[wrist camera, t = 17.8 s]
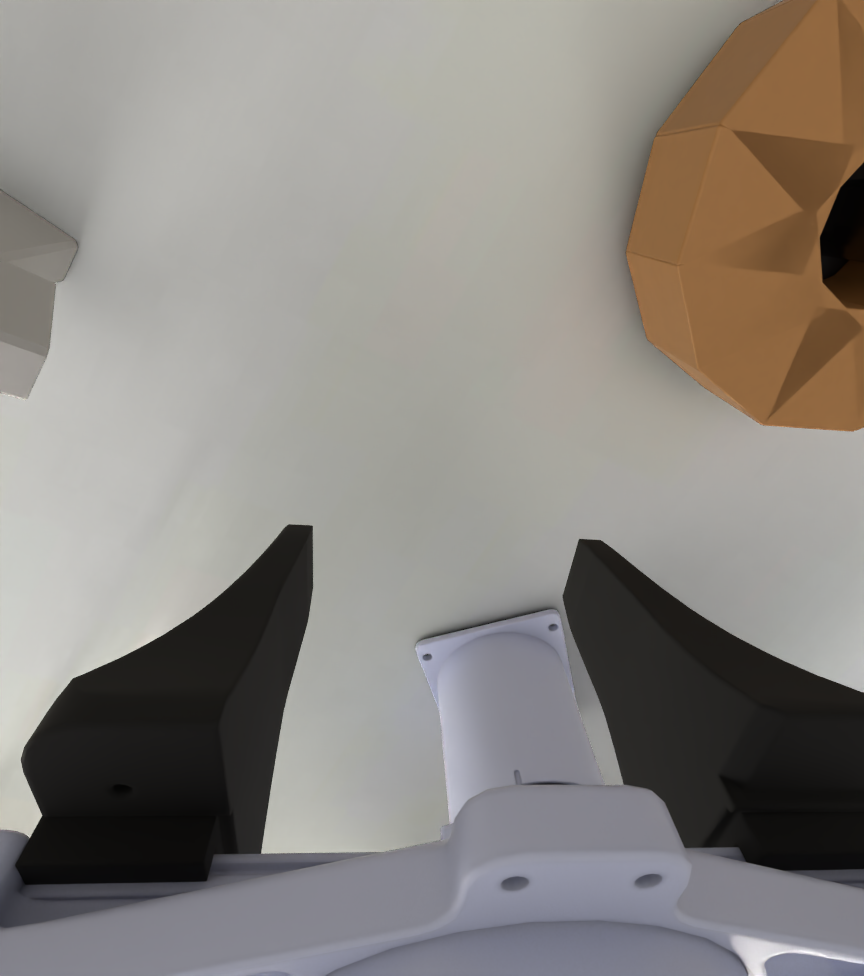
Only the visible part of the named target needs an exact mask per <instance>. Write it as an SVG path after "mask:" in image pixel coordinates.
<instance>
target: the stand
mask: <svg viewBox="0 0 864 976" xmlns="http://www.w3.org/2000/svg"><path fill="white" fill-rule="evenodd" d="M820 251H821V266H822V280H824V279H827V278H829V277H831V276H833V275H835V274H836V273H837V272H838V271H839V270H840V269H841V268H842V267H843V266H844V265H845V264H846V263H847V262H848V261H849V260H852V261H858V262H864V162H863V163H862V165H861V166H860V167H859V168H858V169H857V170H856V171H855V172H854V173H853V174H852V175H851V176H850V178H849V179H848V180H847V181H846V182H845V183H844V184H843V185H842V186H841V187H840V189H839V192H838V194H837V197H836V199H835V201H834V204H833V206H832V209H831V211H830V214H829V216H828V218H827V221H826V223H825V226H824V228H823V231H822V233H821V236H820Z"/></svg>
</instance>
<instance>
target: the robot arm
mask: <svg viewBox="0 0 864 976" xmlns="http://www.w3.org/2000/svg"><path fill="white" fill-rule="evenodd" d="M312 590H313V526H310V525H290V524H289V525H287V526H286V527H285V528H284V529H283V530H282V532H281V533H280V534H279V535H278V537H277V538H276V539H275V540H274V541H273V543H272V544H271V545H270V546H269V547H268V548H267V549H266V551H265V552H264V553H263V554H262V555H261V556H260V557H259V558H258V559H257V560H256V561H255V562H254V563H253V564H252V565H251V567H250V568H249V569H248V570H247V571H246V572H245V573H244V574H243V575H241V576H240V577H239V578H238V579H237V580H236V581H235V582H234V583H233V584H232V585H231V586H230V587H229V588H227V589H226V590H225V591H224V592H223V593H222V594H221V595H219V596H218V597H217V598H216V599H215V600H213V601H212V602H211V603H210V604H208V605H207V606H206V607H204V608H203V609H202V610H200V611H199V612H198V613H196V614H195V615H194V616H192V617H191V618H189V619H187V620H186V621H184V622H183V623H181V624H180V625H178V626H177V627H175V628H173V629H172V630H170V631H169V632H167V633H166V634H164V635H162V636H161V637H159V638H157V639H155V640H153V641H152V642H150V643H148V644H146V645H144V646H143V647H141V648H139V649H137V650H135V651H133V652H131V653H129V654H127V655H125V656H123V657H121V658H119V659H117V660H115V661H112V662H110V663H108V664H106V665H103V666H101V667H99V668H97V669H94V670H92V671H90V672H88V673H85V674H83V675H81V676H78V677H76V678H73V679H72V680H71V682H70V683H69V684H68V686H67V687H66V688H65V689H64V690H63V692H62V693H61V694H60V695H59V697H58V698H57V699H56V701H55V702H54V703H53V705H52V706H51V708H50V709H49V710H48V712H47V713H46V715H45V716H44V718H43V720H42V721H41V723H40V724H39V726H38V727H37V729H36V730H35V732H34V733H33V735H32V736H31V738H30V739H29V741H28V742H27V744H26V745H25V747H24V750H23V754H22V757H21V763H22V768H23V772H24V775H25V777H26V779H27V781H28V784H29V786H30V788H31V791H32V793H33V795H34V797H35V800H36V802H37V804H38V806H39V809H40V811H41V813H42V815H43V816H42V818H41V819H40V821H39V823H38V825H37V827H36V828H35V830H34V832H33V834H32V835H31V837H30V838H29V837H28V836H27V835H25V834H23V833H20V832H18V831H12V830H0V976H864V693H863V692H860V691H857V690H855V689H852V688H849V687H847V686H844V685H841V684H839V683H836V682H833V681H831V680H828V679H825V678H823V677H820V676H817V675H815V674H813V673H810V672H808V671H806V670H803V669H801V668H799V667H796V666H794V665H792V664H790V663H787V662H785V661H783V660H781V659H779V658H777V657H774V656H772V655H770V654H768V653H766V652H764V651H762V650H760V649H758V648H756V647H755V646H753V645H751V644H749V643H747V642H745V641H743V640H741V639H739V638H737V637H736V636H734V635H732V634H730V633H729V632H727V631H725V630H723V629H722V628H720V627H719V626H717V625H715V624H714V623H712V622H710V621H709V620H707V619H705V618H704V617H702V616H701V615H699V614H698V613H696V612H695V611H693V610H692V609H690V608H689V607H687V606H686V605H685V604H683V603H682V602H680V601H679V600H677V599H676V598H675V597H673V596H672V595H670V594H669V593H668V592H666V591H665V590H664V589H663V588H661V587H660V586H659V585H657V584H656V583H655V582H653V581H652V580H651V579H650V578H648V577H647V576H646V575H645V574H643V573H642V572H641V571H640V570H638V569H637V568H636V567H635V566H633V565H632V564H631V563H630V562H628V561H627V560H626V559H625V558H624V557H622V556H621V555H620V554H619V553H617V552H616V551H615V550H613V549H612V548H611V547H610V546H608V545H607V544H605V543H604V542H603V541H601V540H588V539H579V541H578V545H577V548H576V552H575V555H574V559H573V562H572V566H571V569H570V573H569V576H568V580H567V583H566V586H565V590H564V593H563V601H564V605H565V610H566V614H567V618H568V622H569V625H570V629H571V632H572V634H573V637H574V639H575V642H576V644H577V647H578V649H579V652H580V654H581V657H582V659H583V662H584V664H585V667H586V669H587V671H588V674H589V676H590V679H591V681H592V684H593V686H594V688H595V691H596V693H597V696H598V698H599V701H600V703H601V706H602V709H603V712H604V715H605V718H606V721H607V725H608V728H609V732H610V735H611V738H612V742H613V745H614V749H615V753H616V756H617V760H618V764H619V768H620V772H621V776H622V779H623V783H624V785H605V783H604V780H603V777H602V775H601V772H600V769H599V766H598V763H597V761H596V758H595V755H594V752H593V749H592V746H591V744H590V741H589V738H588V735H587V732H586V729H585V727H584V724H583V721H582V718H581V715H580V713H579V710H578V707H577V702H576V696H575V691H574V686H573V680H572V675H571V670H570V664H569V659H568V654H567V649H566V643H565V638H564V633H563V627H562V622H561V617H560V615H559V613H558V611H556V610H553V609H550V610H545V611H541V612H537V613H532V614H528V615H524V616H520V617H516V618H511V619H507V620H503V621H499V622H495V623H491V624H486V625H482V626H478V627H474V628H470V629H466V630H461V631H457V632H453V633H449V634H445V635H440V636H436V637H432V638H428V639H424V640H421V641H419V642H418V643H417V644H416V654H417V656H418V659H419V661H420V664H421V666H422V669H423V671H424V674H425V676H426V679H427V681H428V684H429V687H430V689H431V692H432V694H433V697H434V699H435V702H436V704H437V707H438V709H439V712H440V721H441V732H442V743H443V754H444V766H445V777H446V788H447V799H448V810H449V822H450V824H448V825H444V826H442V827H441V828H440V831H441V840H439V841H434V842H430V843H425V844H420V845H415V846H410V847H405V848H400V849H395V850H391V851H386V852H355V853H281V854H261V849H262V842H263V835H264V829H265V822H266V816H267V809H268V803H269V796H270V790H271V783H272V777H273V771H274V765H275V759H276V753H277V747H278V741H279V735H280V729H281V723H282V718H283V712H284V707H285V703H286V699H287V694H288V691H289V687H290V684H291V680H292V677H293V673H294V669H295V666H296V662H297V659H298V655H299V652H300V648H301V644H302V641H303V637H304V634H305V630H306V626H307V622H308V617H309V611H310V604H311V597H312ZM551 624H554V625H552V626H550V625H551ZM425 654H429V655H425Z"/></svg>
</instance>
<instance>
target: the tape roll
mask: <svg viewBox="0 0 864 976" xmlns="http://www.w3.org/2000/svg"><path fill="white" fill-rule="evenodd" d="M863 162H864V0H784V1H782V2H780V3H778V4H776V5H774V6H772V7H770V8H768V9H766V10H765V11H763V12H761V13H759V14H757V15H755V16H753V17H751V18H749V19H747V20H745V21H744V22H742V23H740V24H739V26H738V27H737V28H736V29H735V30H734V32H733V33H732V34H731V36H730V37H729V38H728V40H727V41H726V42H725V44H724V45H723V46H722V48H721V49H720V50H719V52H718V53H717V54H716V55H715V57H714V58H713V59H712V61H711V62H710V63H709V65H708V66H707V67H706V69H705V70H704V71H703V73H702V74H701V75H700V77H699V78H698V79H697V81H696V82H695V83H694V85H693V86H692V87H691V89H690V90H689V91H688V92H687V94H686V95H685V96H684V98H683V99H682V100H681V102H680V103H679V104H678V106H677V107H676V108H675V110H674V111H673V112H672V114H671V115H670V116H669V118H668V119H667V120H666V122H665V123H664V124H663V126H662V127H661V128H660V130H659V131H658V132H657V134H656V137H655V138H654V141H653V145H652V149H651V153H650V157H649V161H648V165H647V169H646V173H645V177H644V181H643V185H642V189H641V193H640V197H639V201H638V205H637V209H636V213H635V217H634V221H633V225H632V229H631V233H630V237H629V241H628V245H627V251H626V256H627V260H628V264H629V268H630V272H631V276H632V280H633V284H634V288H635V293H636V297H637V301H638V305H639V309H640V313H641V317H642V321H643V325H644V329H645V333H646V337H647V339H648V341H649V342H651V343H652V344H653V345H654V346H655V347H657V348H658V349H659V350H660V351H661V352H662V353H664V354H665V355H666V356H667V357H668V358H670V359H671V360H672V361H673V362H674V363H676V364H677V365H678V366H679V367H680V368H681V369H683V370H684V371H685V372H686V373H687V374H689V375H690V376H691V377H692V378H693V379H695V380H696V381H697V382H698V383H699V384H700V385H702V386H703V387H704V388H706V389H707V390H709V391H710V392H712V393H713V394H715V395H716V396H718V397H719V398H721V399H723V400H724V401H726V402H727V403H729V404H730V405H732V406H733V407H735V408H736V409H738V410H739V411H741V412H743V413H744V414H746V415H747V416H749V417H750V418H752V419H753V420H755V421H756V422H758V423H759V424H761V425H765V426H780V427H794V428H809V429H823V430H838V431H855V430H859V429H861V428H864V262H858V261H852V260H849V261H848V262H847V263H846V264H845V265H844V266H843V267H842V268H841V269H840V270H839V271H838V272H837V273H836V274H835V275H833V276H831V277H829V278H827V279H824V280H822V266H821V251H820V236H821V233H822V231H823V228H824V226H825V223H826V221H827V218H828V216H829V214H830V211H831V209H832V206H833V204H834V201H835V199H836V197H837V194H838V192H839V189H840V187H841V186H842V185H843V184H844V183H845V182H846V181H847V180H848V179H849V178H850V176H851V175H852V174H853V173H854V172H855V171H856V170H857V169H858V168H859V167H860V166H861V165H862V163H863Z"/></svg>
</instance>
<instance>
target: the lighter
mask: <svg viewBox="0 0 864 976" xmlns="http://www.w3.org/2000/svg"><path fill="white" fill-rule="evenodd" d="M77 249H78V246H77V243H76V241H75V239H73V238H72V237H70V236H69V235H67V234H66V233H64V232H63V231H61V230H60V229H58V228H57V227H55V226H54V225H52V224H51V223H49V222H48V221H46V220H45V219H43V218H42V217H40V216H39V215H37V214H36V213H34V212H33V211H31V210H30V209H28V208H27V207H25V206H24V205H22V204H21V203H19V202H18V201H16V200H15V199H13V198H12V197H10V196H9V195H7V194H6V193H4V192H3V191H1V190H0V393H2V394H5V395H9V396H12V397H15V398H19V399H22V400H27V399H28V396H29V394H30V392H31V390H32V388H33V386H34V383H35V381H36V379H37V377H38V375H39V373H40V371H41V368H42V366H43V364H44V362H45V360H46V358H47V355H48V351H49V348H50V338H51V329H52V319H53V309H54V300H55V290H56V284H55V283H56V282H59V281H63V280H64V278H65V276H66V273H67V271H68V269H69V267H70V264H71V262H72V260H73V258H74V256H75V253H76V251H77Z"/></svg>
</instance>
